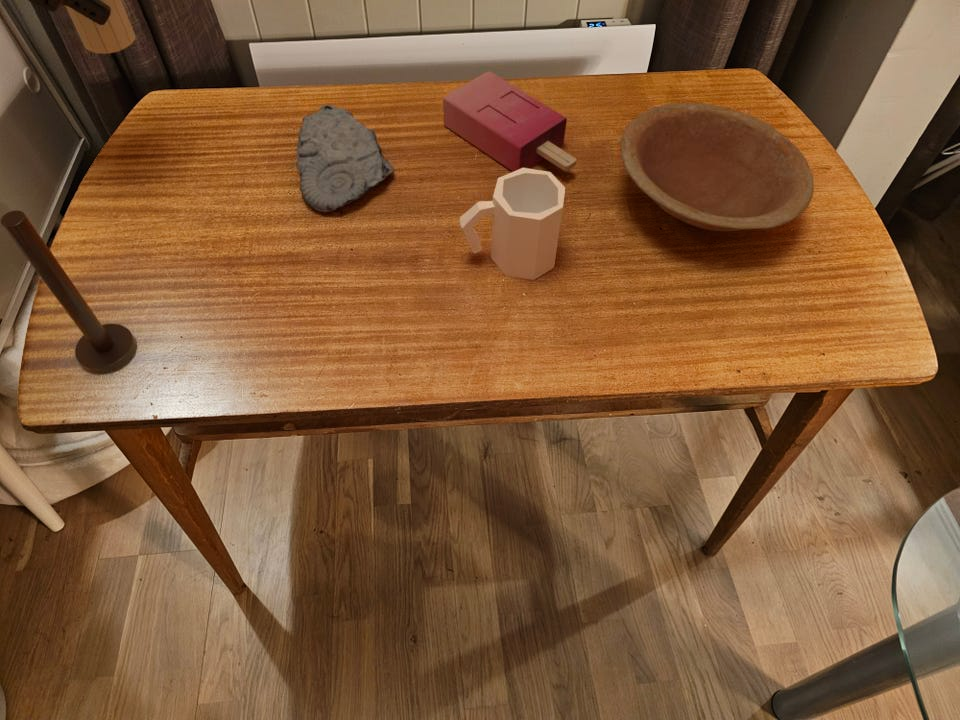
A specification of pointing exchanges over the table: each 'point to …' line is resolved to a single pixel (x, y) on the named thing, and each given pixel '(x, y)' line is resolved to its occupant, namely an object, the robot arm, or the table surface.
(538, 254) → the mug
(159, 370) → the table surface
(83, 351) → the stand
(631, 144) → the bowl
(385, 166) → the fossil
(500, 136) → the popsicle
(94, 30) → the faceted pencil cup
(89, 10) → the robot arm
